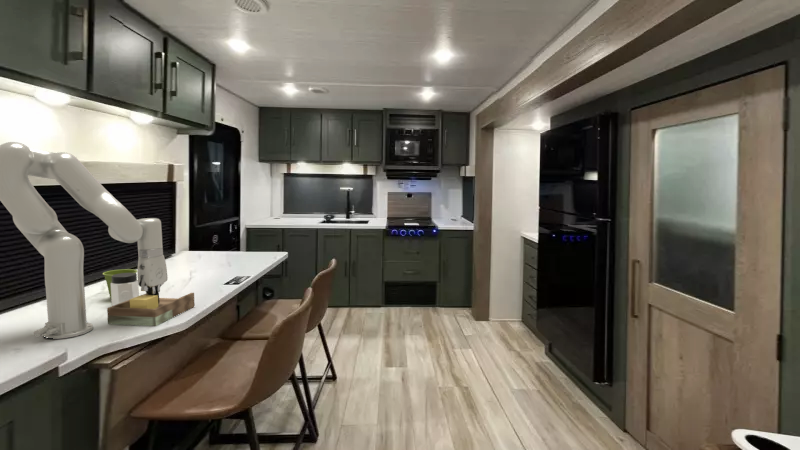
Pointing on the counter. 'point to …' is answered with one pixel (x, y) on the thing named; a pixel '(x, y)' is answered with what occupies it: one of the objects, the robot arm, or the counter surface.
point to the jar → (124, 287)
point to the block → (144, 302)
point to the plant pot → (109, 274)
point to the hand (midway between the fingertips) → (153, 303)
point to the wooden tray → (149, 311)
